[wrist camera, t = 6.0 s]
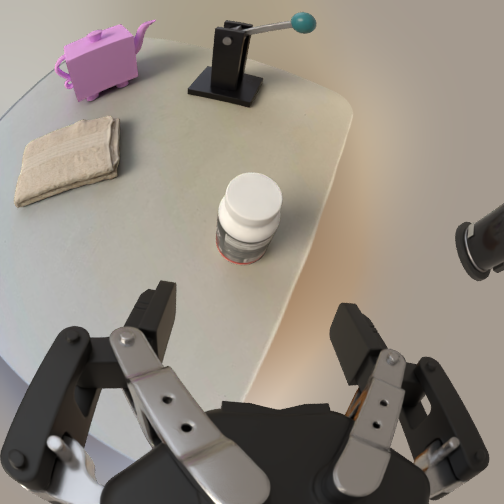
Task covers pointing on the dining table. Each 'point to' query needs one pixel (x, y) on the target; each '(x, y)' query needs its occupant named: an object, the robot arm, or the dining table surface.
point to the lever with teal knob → (285, 25)
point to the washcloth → (69, 159)
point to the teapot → (102, 60)
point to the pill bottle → (248, 218)
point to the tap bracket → (228, 68)
